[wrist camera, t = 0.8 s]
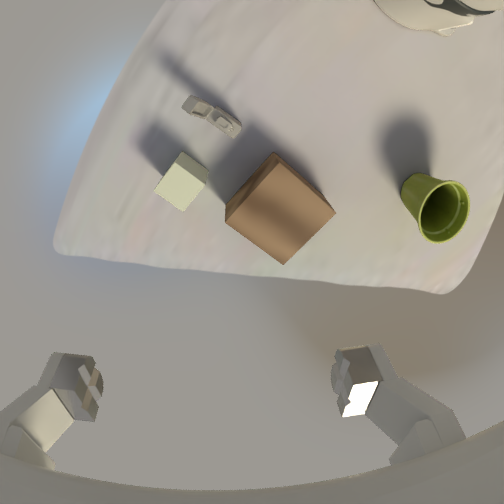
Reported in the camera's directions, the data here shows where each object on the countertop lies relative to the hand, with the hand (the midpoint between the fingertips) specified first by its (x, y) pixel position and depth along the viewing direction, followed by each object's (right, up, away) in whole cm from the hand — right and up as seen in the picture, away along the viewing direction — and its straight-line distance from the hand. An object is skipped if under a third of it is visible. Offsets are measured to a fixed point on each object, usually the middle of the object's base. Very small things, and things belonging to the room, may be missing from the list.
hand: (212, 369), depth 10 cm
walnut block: (+5, +11, +35) cm, 37 cm away
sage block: (-8, +14, +32) cm, 36 cm away
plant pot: (+27, +13, +36) cm, 47 cm away
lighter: (-3, +22, +29) cm, 36 cm away
